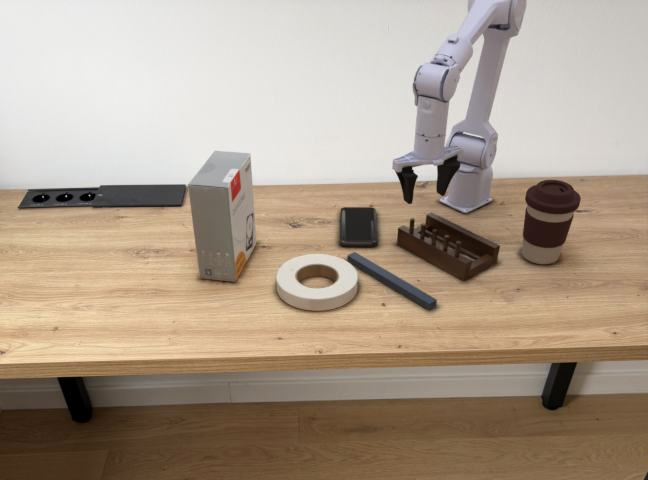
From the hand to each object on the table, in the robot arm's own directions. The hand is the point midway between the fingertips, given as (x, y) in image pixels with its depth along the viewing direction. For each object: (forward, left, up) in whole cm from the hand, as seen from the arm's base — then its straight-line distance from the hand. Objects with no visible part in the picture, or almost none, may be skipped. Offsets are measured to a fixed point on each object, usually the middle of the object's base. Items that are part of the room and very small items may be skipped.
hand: (424, 197), depth 136 cm
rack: (0, +7, -10) cm, 12 cm away
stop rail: (+16, +7, -10) cm, 20 cm away
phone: (+6, -12, -10) cm, 17 cm away
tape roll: (+27, -1, -10) cm, 29 cm away
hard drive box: (+34, -20, -10) cm, 41 cm away
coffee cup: (-14, +20, -10) cm, 26 cm away
